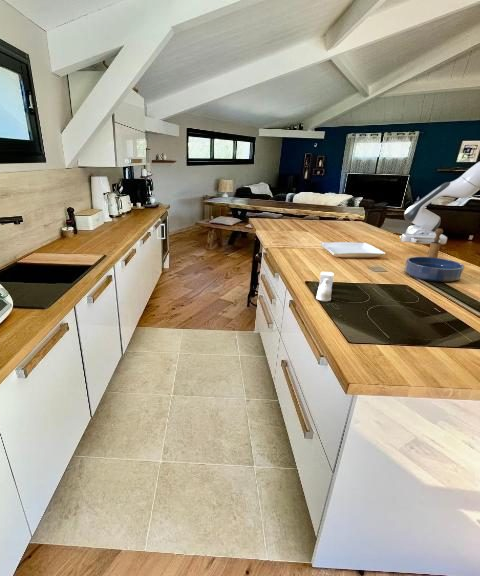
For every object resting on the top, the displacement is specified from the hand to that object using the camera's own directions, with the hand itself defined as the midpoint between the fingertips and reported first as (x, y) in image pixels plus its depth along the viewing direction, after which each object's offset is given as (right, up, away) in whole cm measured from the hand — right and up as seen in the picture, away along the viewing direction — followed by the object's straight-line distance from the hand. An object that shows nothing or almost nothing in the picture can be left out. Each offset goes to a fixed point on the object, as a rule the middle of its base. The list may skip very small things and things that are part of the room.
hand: (427, 241), depth 164 cm
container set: (-71, -26, -40) cm, 86 cm away
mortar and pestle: (-4, -13, -7) cm, 15 cm away
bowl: (-16, -19, -23) cm, 34 cm away
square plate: (-33, -5, +15) cm, 37 cm away
